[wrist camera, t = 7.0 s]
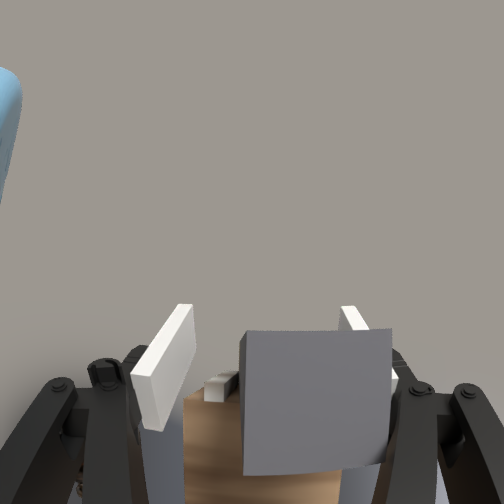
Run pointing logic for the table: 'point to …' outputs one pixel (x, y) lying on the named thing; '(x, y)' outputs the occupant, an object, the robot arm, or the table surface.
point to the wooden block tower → (236, 456)
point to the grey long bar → (314, 400)
